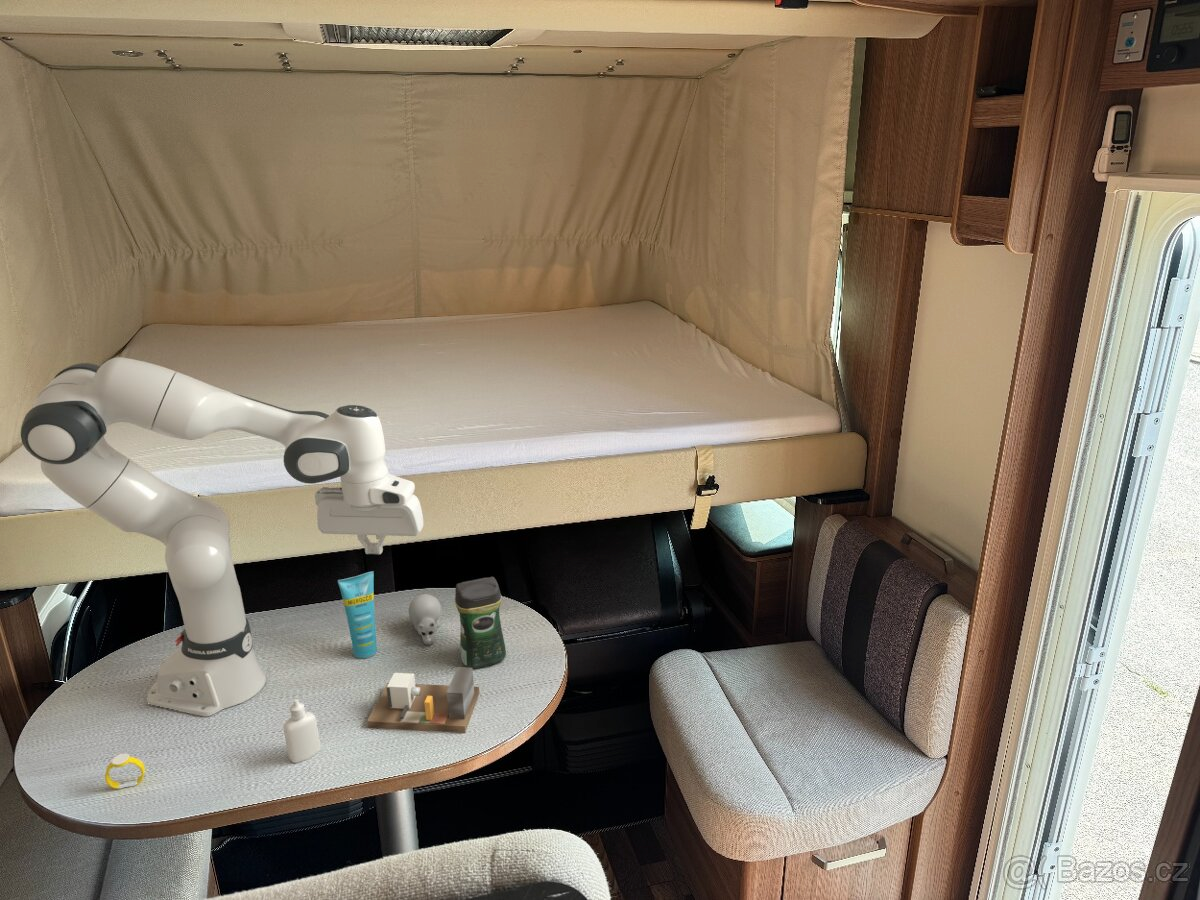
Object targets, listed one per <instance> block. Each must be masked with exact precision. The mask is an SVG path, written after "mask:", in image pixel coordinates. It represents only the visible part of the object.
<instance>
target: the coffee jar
mask: <svg viewBox="0 0 1200 900" xmlns="http://www.w3.org/2000/svg"><path fill="white" fill-rule="evenodd" d="M454 593H455V595H454V603H455V607H456V609H457V611H458V613H459V621H460V624H459V625H460V634H459V635H460V636H459V637H460V638H459V639H460V640H459V650H460V651H459V654H460V658H461V659H460V660H461V661H462V663H463V665H464V666H465V667H467V668H472V669H478V668H483V667H488V666H493V665H496V664H499V663H500V662H502V661H504V660H505V659H506V656H507V649H506V643H505V638H504V633H503V629H502V623H501V618H500V617H501V615H500V606H501V603H502V593H501V590H500V586H499V584H498V581H497V579H496V578H495V577H494V576H490V577H482V578H476V579H472V580H466V581H462V582H460V583H459V582H458V583H456V585H455V592H454Z"/></svg>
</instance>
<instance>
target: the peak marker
mask: <svg viewBox="0 0 1200 900" xmlns="http://www.w3.org/2000/svg"><path fill="white" fill-rule="evenodd" d="M424 704H425V713H426V720H432V717H433V715H434V705H433V696H427V698H426V700H425V702H424Z"/></svg>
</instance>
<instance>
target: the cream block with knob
mask: <svg viewBox="0 0 1200 900" xmlns="http://www.w3.org/2000/svg"><path fill="white" fill-rule="evenodd" d="M415 678H416V677H415V673H407V672H393V674H392V676H391V678H390V680H389V682H388V683H389V684H388V686H387V696H388V704H389V708H399V709H403V711H402V713H401V715H400V719H404V717H405V715H406V713H407V710H408V709H410V708H411V705H412V703H413V701H414V699H415V697H416V696H420V693H421V688H420V687H416V686H415V684H416V679H415Z"/></svg>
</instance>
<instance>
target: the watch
mask: <svg viewBox="0 0 1200 900" xmlns="http://www.w3.org/2000/svg"><path fill="white" fill-rule="evenodd" d="M128 764H130V765H131V764H132V765H135V766H136V767H137V768H139V769H140V772H141V773H140V775H139V777H138V778H137V779H138V780H137V779H136V780H137V783H139V784H140V783H142V781H143V779H144V776H145V772H146V767H145V765H144V763H143V761H142V760H140V759H139V758H137V757H132V756H131V755H130V754H128V753H127V752H126V753H125V752H123V753H121V754H118V755H116V756H114V758H112V760H111V762H110V763H109V764H108V765H107V768H106V770H105V772H104V773H105V774H104V778H105V780H104V781H105V782H106V784H107V785H108V786H109V787H110V788H113V789H116V788H119V784H120V783H121V782H118V781H116V780H114V779H113V778H112V777H111V776H110V770H112V769H113V768H122V767H124V766H126V765H128ZM116 790H117V789H116Z"/></svg>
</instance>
